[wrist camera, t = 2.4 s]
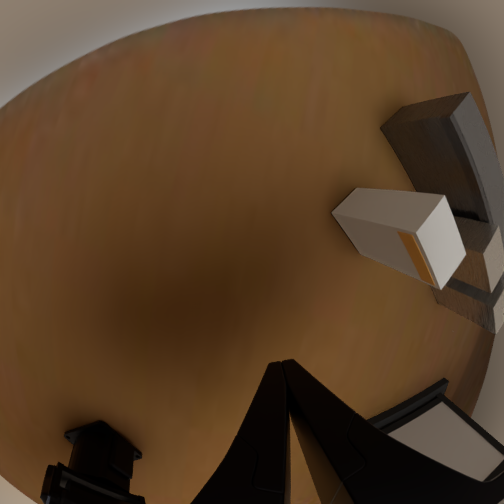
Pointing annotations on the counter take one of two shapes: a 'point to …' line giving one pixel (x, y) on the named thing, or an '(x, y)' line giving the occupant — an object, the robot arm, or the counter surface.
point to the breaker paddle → (404, 232)
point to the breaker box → (459, 196)
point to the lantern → (443, 433)
